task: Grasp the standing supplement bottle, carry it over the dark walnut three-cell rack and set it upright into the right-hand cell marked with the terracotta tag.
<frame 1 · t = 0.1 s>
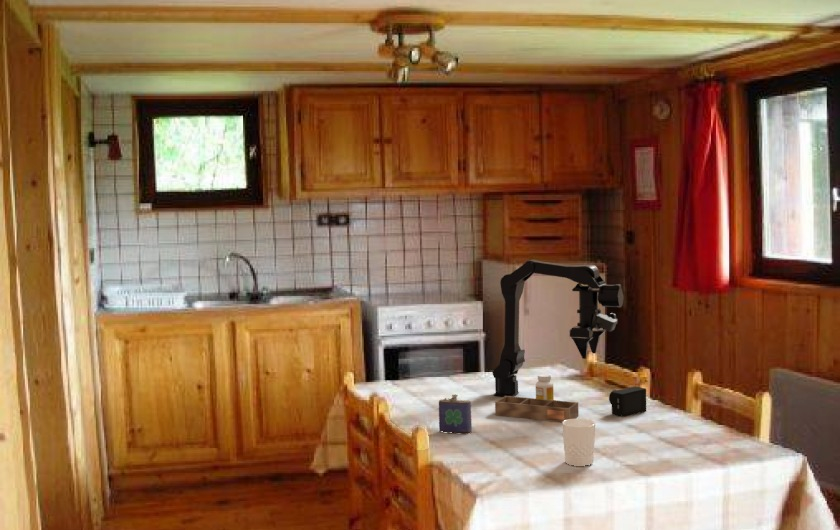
hand: (589, 355, 276), 15 cm above the table, fingers open, 9 cm apart
white cup: (579, 463, 218), on the table
digital camera: (627, 413, 263), on the table
flask: (455, 433, 248), on the table
bottle rack: (536, 415, 263), on the table
supplement bottle: (544, 407, 274), on the table
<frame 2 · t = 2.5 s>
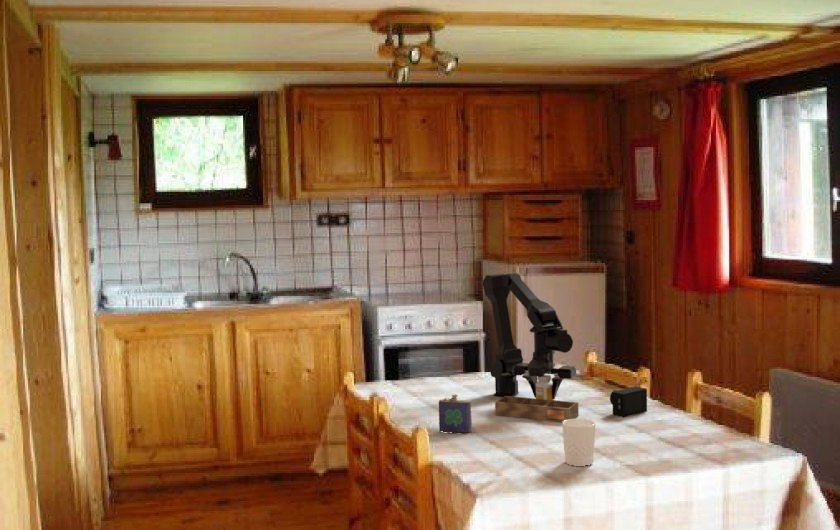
hand: (544, 398, 273), 3 cm above the table, fingers closed on supplement bottle, 5 cm apart
supplement bottle: (544, 407, 274), on the table, touching gripper
everything else where it was.
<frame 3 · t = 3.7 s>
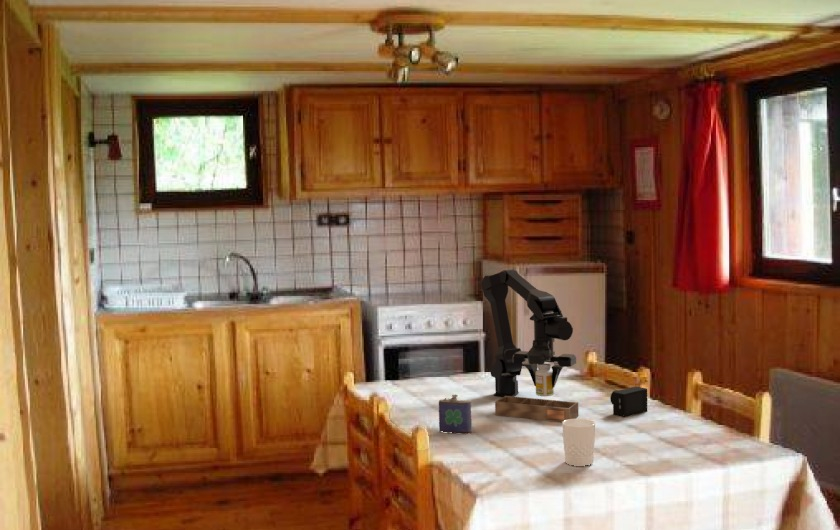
hand: (544, 386, 273), 6 cm above the table, fingers closed on supplement bottle, 5 cm apart
supplement bottle: (544, 395, 273), point 3 cm above the table, touching gripper
everything else where it was.
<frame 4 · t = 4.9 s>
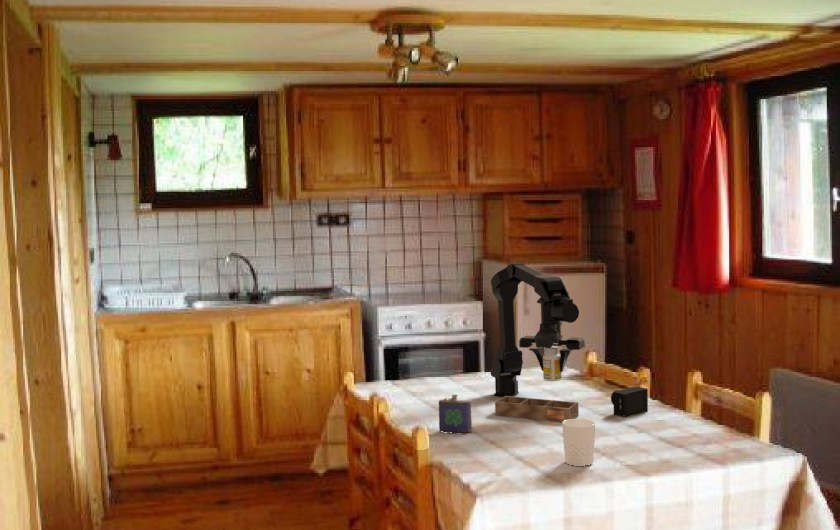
hand: (552, 371, 266), 12 cm above the table, fingers closed on supplement bottle, 5 cm apart
supplement bottle: (552, 380, 266), point 10 cm above the table, touching gripper
everything else where it was.
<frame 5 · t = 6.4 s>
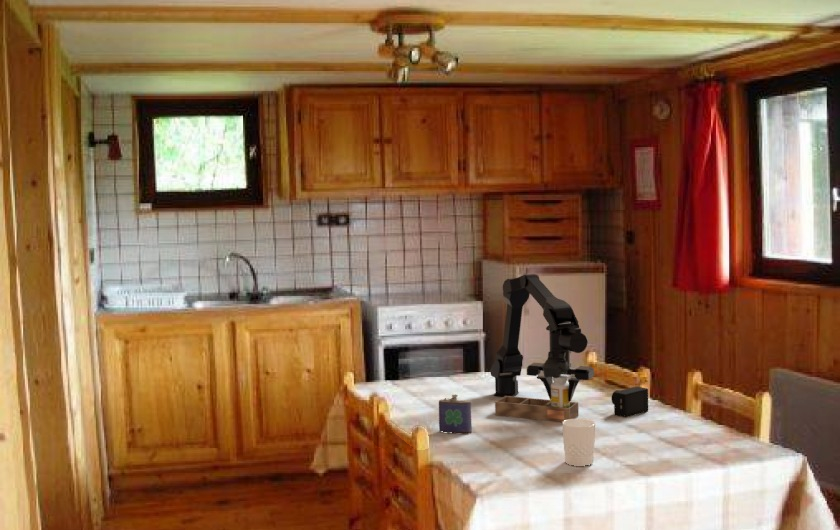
hand: (560, 400, 259), 5 cm above the table, fingers closed on supplement bottle, 5 cm apart
supplement bottle: (560, 409, 260), point 2 cm above the table, touching gripper
everything else where it was.
when the fingers open (4 cm above the table, at t = 7.4 s): supplement bottle drops 2 cm, resting in bottle rack.
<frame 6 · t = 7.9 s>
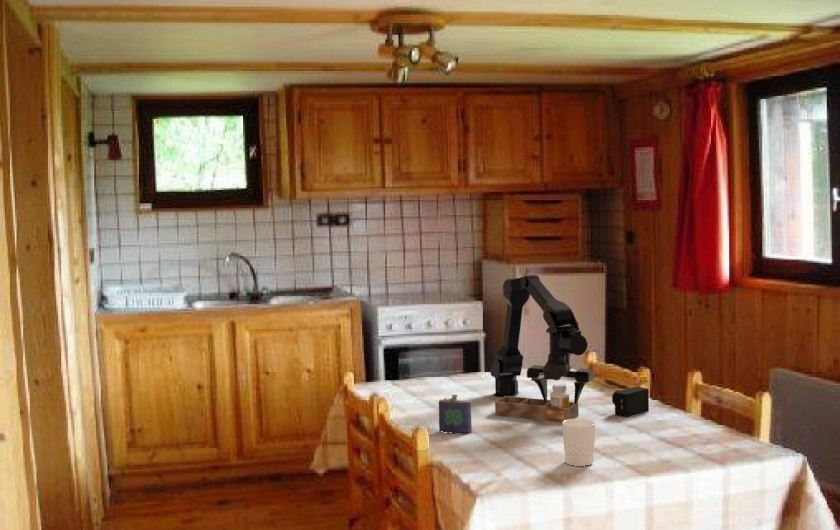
hand: (560, 402, 259), 4 cm above the table, fingers open, 9 cm apart
supplement bottle: (560, 418, 260), resting in bottle rack
everything else where it was.
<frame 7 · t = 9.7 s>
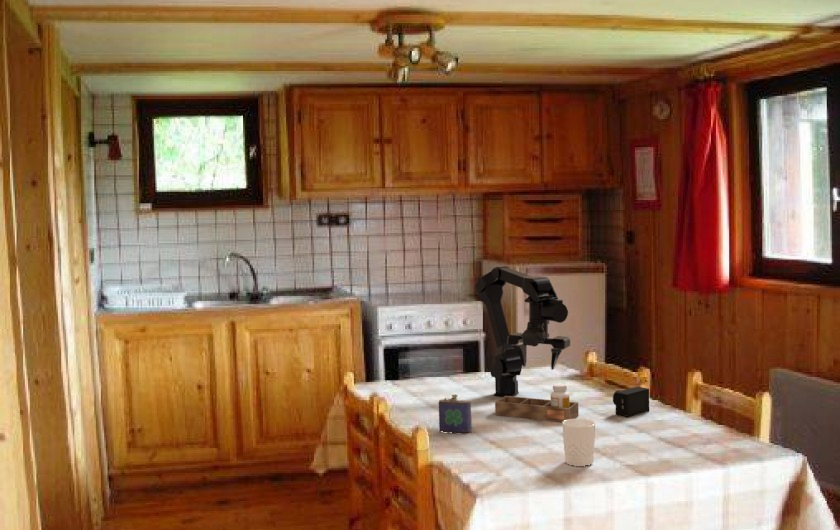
hand: (538, 367, 276), 11 cm above the table, fingers open, 9 cm apart
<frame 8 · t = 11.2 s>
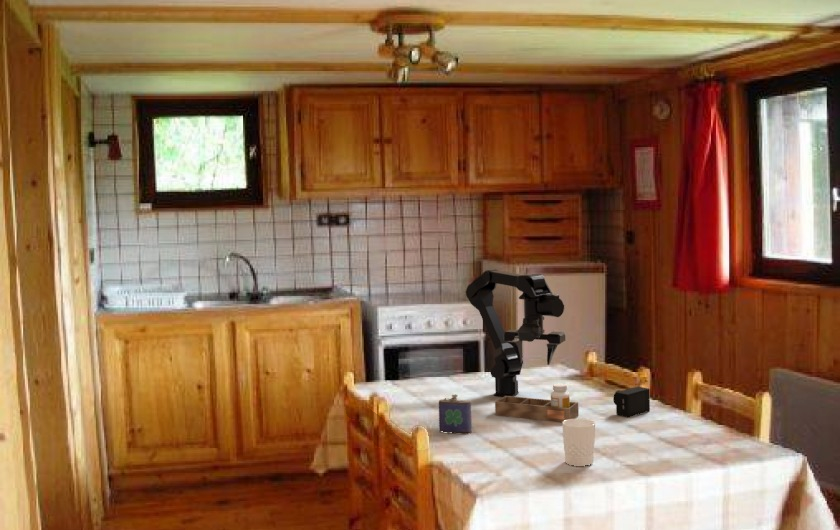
hand: (534, 363, 279), 12 cm above the table, fingers open, 9 cm apart
at the end: supplement bottle 0.2 cm from the target spot on the bottle rack, point 0.0 cm above the bottle rack's base; supplement bottle tilted 1°; the gripper is holding nothing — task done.
